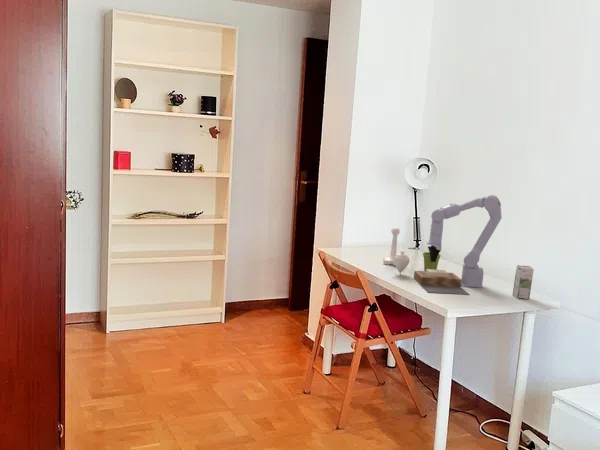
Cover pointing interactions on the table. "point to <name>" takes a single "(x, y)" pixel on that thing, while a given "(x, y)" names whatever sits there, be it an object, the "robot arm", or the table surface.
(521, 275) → the syrup box
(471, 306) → the table surface
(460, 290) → the mat
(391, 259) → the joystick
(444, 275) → the card
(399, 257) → the spinning top
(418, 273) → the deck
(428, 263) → the plant pot
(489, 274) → the table surface
